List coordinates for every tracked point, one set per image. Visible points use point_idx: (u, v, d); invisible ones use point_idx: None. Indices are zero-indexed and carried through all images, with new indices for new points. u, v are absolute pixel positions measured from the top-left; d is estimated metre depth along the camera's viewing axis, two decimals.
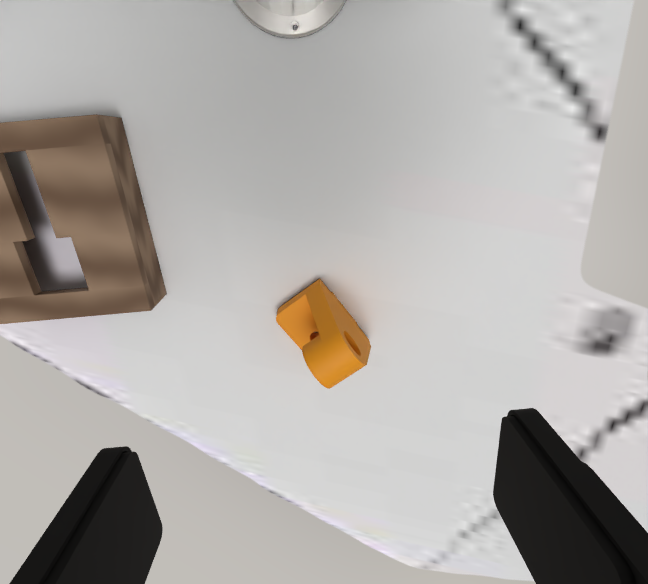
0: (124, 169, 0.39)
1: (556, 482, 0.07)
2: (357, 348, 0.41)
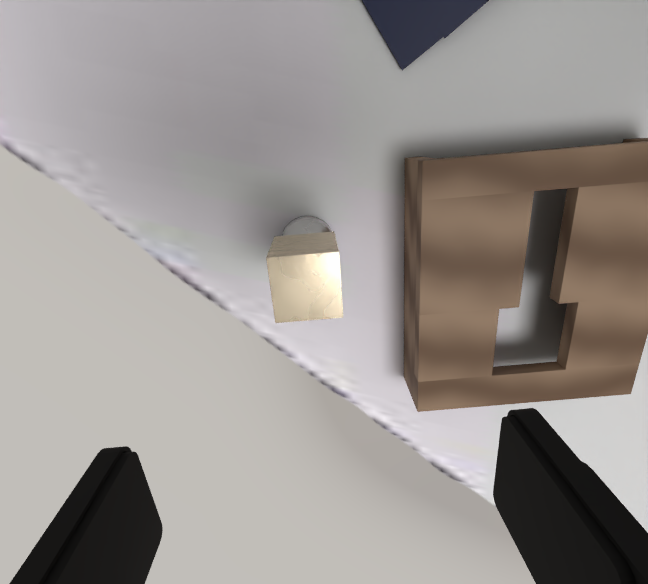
0: None
1: (556, 482, 0.07)
2: None
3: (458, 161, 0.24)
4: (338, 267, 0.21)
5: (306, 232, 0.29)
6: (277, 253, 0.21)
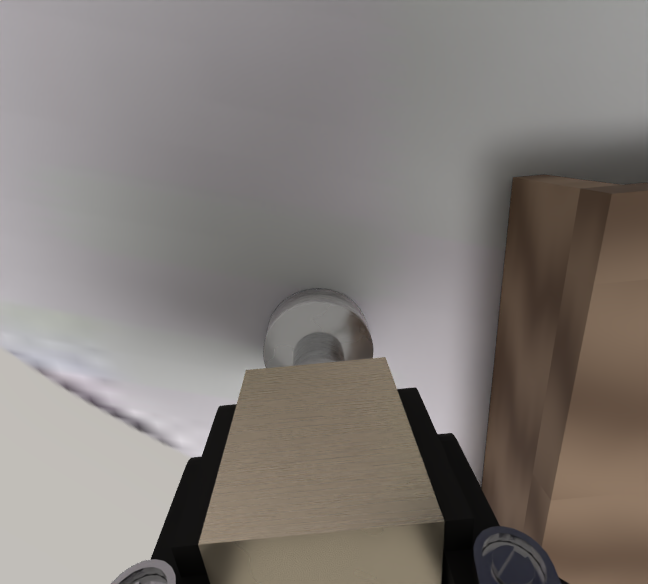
0: None
1: None
2: None
3: None
4: (437, 557, 0.06)
5: (316, 327, 0.14)
6: (239, 503, 0.07)
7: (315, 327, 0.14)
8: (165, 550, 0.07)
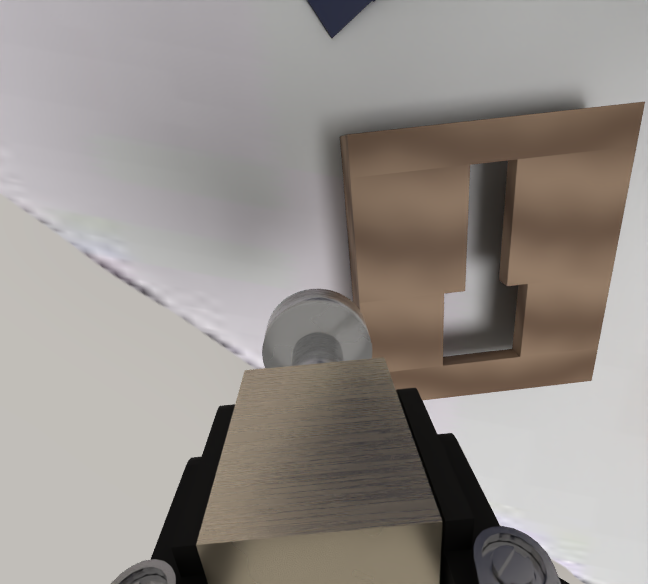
0: None
1: None
2: None
3: (386, 133, 0.22)
4: (435, 558, 0.06)
5: (315, 327, 0.14)
6: (237, 504, 0.07)
7: (314, 327, 0.14)
8: (165, 550, 0.07)
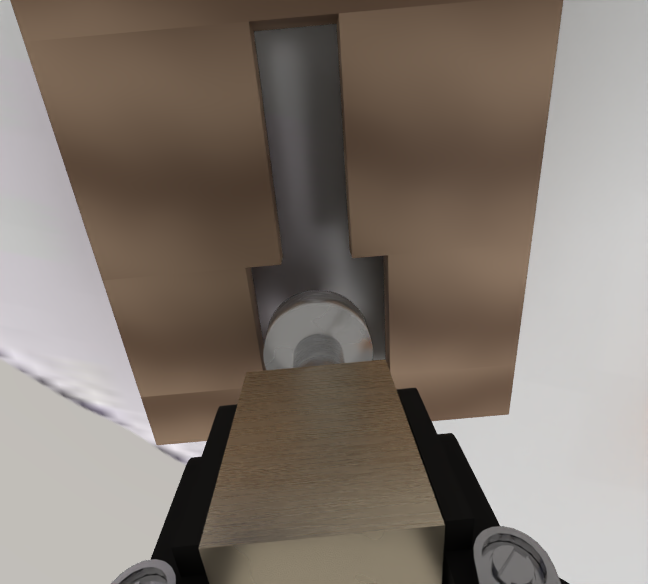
0: None
1: None
2: None
3: None
4: (437, 561, 0.06)
5: (316, 328, 0.14)
6: (239, 507, 0.07)
7: (315, 329, 0.14)
8: (165, 550, 0.07)
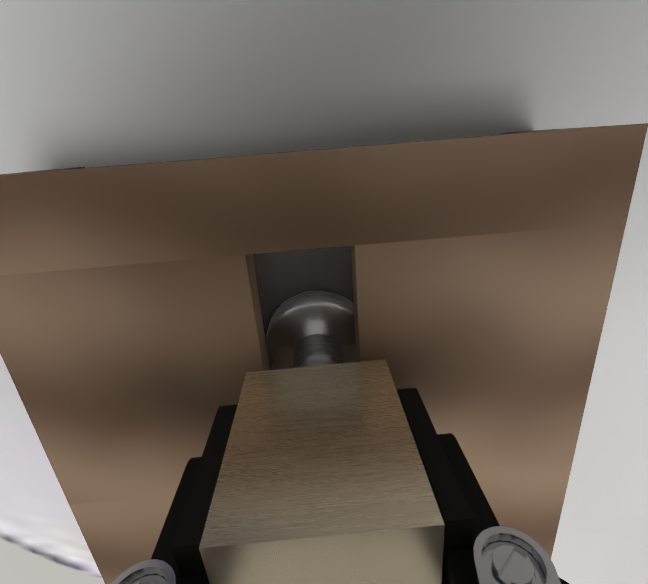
0: None
1: None
2: None
3: (22, 182, 0.09)
4: (437, 561, 0.06)
5: (316, 328, 0.15)
6: (240, 507, 0.07)
7: (315, 329, 0.15)
8: (165, 550, 0.07)
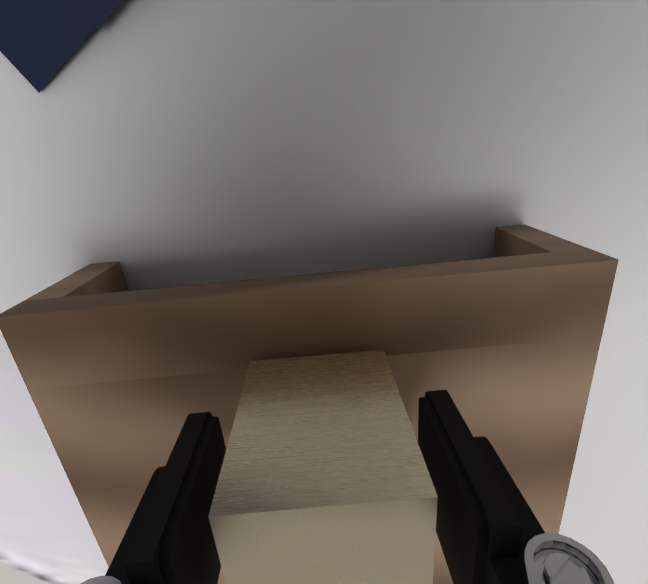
0: None
1: (447, 451, 0.08)
2: None
3: (79, 315, 0.11)
4: (430, 532, 0.07)
5: None
6: (246, 481, 0.07)
7: None
8: (121, 565, 0.07)
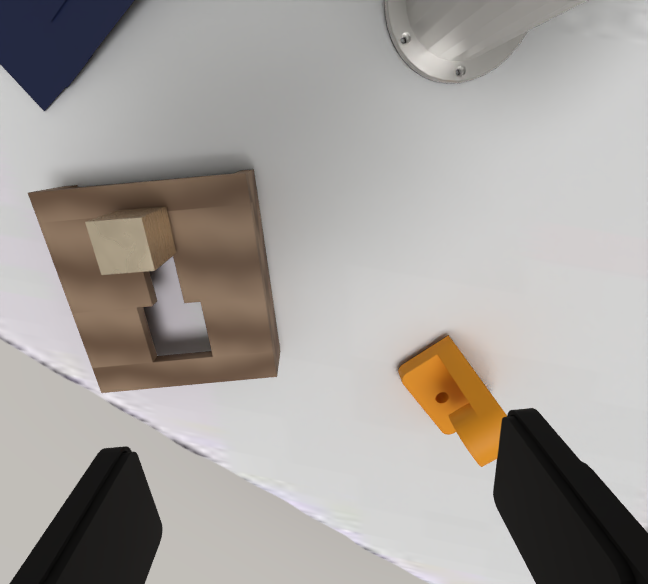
0: (258, 227, 0.35)
1: (556, 482, 0.07)
2: None
3: (57, 192, 0.31)
4: (143, 230, 0.27)
5: None
6: (97, 219, 0.27)
7: None
8: None
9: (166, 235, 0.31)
